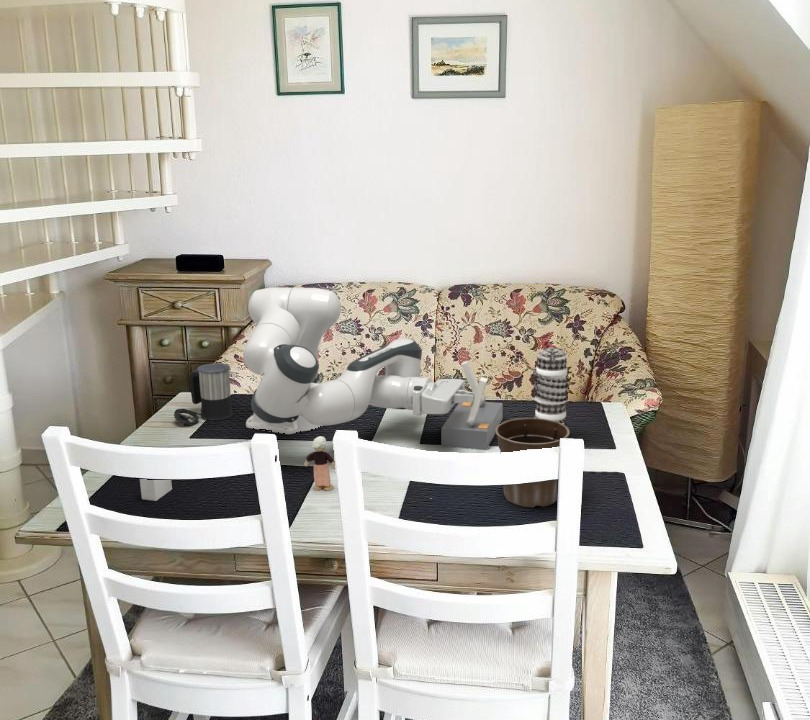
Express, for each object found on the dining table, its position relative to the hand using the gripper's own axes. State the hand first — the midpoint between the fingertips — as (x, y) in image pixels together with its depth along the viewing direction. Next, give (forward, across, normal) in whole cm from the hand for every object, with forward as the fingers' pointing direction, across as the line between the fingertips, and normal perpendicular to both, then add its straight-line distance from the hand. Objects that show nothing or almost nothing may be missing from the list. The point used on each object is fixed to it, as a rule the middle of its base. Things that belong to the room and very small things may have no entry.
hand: (474, 397), depth 226 cm
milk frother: (-80, -2, -13) cm, 81 cm away
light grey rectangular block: (-64, +48, -13) cm, 82 cm away
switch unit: (-2, -9, -13) cm, 16 cm away
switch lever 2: (-1, -1, -8) cm, 8 cm away
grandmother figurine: (-29, +36, -13) cm, 48 cm away
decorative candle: (+19, -7, -13) cm, 24 cm away
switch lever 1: (-1, -18, -7) cm, 19 cm away
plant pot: (+19, +29, -14) cm, 37 cm away
